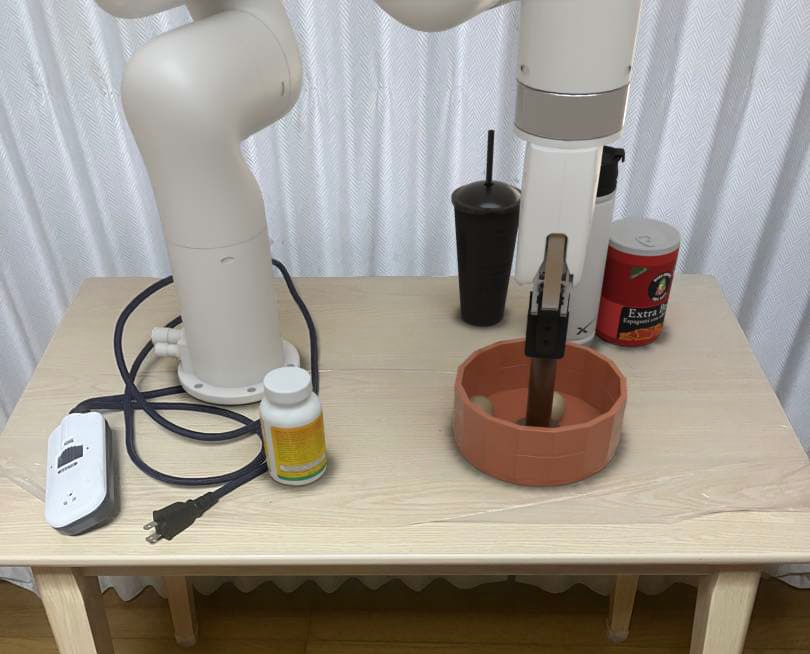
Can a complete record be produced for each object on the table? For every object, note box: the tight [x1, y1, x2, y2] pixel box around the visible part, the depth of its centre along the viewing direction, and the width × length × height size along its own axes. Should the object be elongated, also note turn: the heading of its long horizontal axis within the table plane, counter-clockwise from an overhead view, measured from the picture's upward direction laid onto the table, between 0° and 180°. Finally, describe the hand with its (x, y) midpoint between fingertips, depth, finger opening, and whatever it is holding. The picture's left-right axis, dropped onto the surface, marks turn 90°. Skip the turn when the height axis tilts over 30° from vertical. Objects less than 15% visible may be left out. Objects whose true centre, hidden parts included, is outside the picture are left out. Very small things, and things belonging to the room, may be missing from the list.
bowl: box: [453, 336, 628, 487], centre depth 79 cm, size 15×15×6 cm
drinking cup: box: [450, 129, 521, 327], centre depth 91 cm, size 8×8×20 cm
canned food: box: [595, 217, 682, 347], centre depth 92 cm, size 8×8×11 cm
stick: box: [515, 287, 562, 428], centre depth 72 cm, size 4×4×15 cm
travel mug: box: [562, 145, 626, 348], centre depth 87 cm, size 6×7×20 cm
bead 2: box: [551, 391, 567, 422], centre depth 81 cm, size 3×3×3 cm
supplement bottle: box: [258, 367, 328, 486], centre depth 75 cm, size 5×5×10 cm
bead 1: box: [469, 395, 494, 416], centre depth 81 cm, size 3×3×3 cm
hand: (544, 345), depth 71 cm, fingers closed on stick, 2 cm apart
